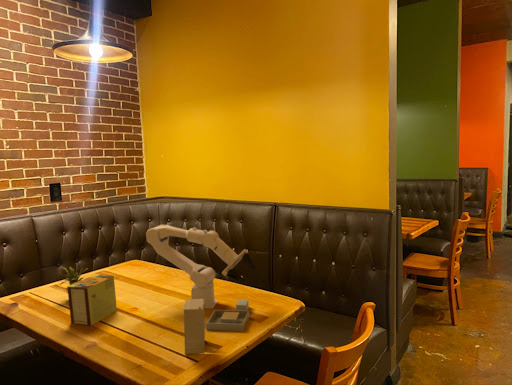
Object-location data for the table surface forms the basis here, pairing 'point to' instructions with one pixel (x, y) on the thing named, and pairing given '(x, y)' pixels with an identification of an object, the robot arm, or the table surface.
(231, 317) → the wooden block
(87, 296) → the protein box
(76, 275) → the house plant
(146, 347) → the table surface
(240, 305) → the carton
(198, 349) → the skincare box
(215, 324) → the crate
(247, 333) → the table surface
